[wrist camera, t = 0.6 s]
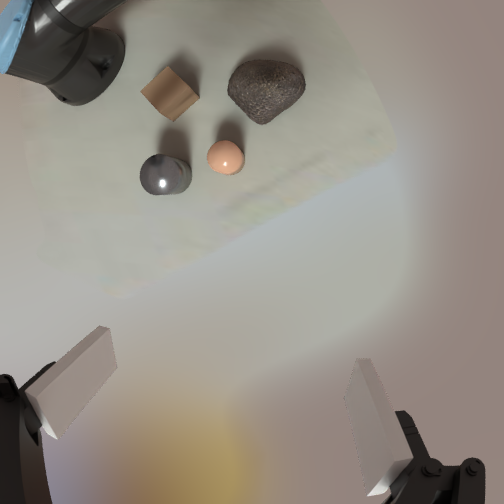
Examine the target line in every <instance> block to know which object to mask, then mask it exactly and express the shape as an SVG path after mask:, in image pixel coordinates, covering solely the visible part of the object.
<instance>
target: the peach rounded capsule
mask: <svg viewBox="0 0 504 504" xmlns="http://www.w3.org/2000/svg"><path fill="white" fill-rule="evenodd" d="M207 160H208V163H209V165H210V167H211V168H212V169H213V170H215V171H217V172H219V173H222V174H225V175H234V174H237V173H238V172H240V171H241V170H242V168H243V166H244V163H245V157H244V154H243V152H242V151H241V150H240V149H239V148H238V147H237V146H236V145H235V144H234V143H233V142H231V141H227V140H222V141H218V142H216V143H214V144H213V145H212V146H211V147H210V149H209V151H208V154H207Z"/></svg>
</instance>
